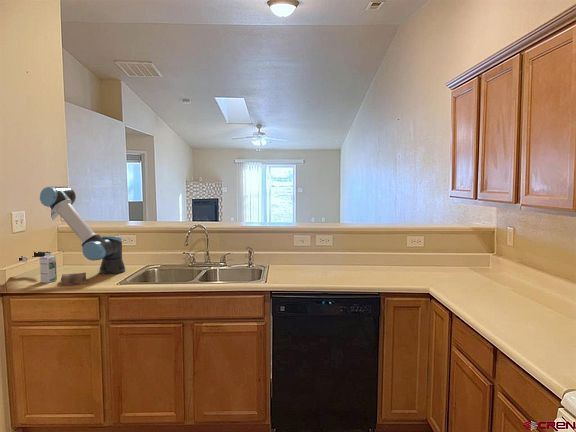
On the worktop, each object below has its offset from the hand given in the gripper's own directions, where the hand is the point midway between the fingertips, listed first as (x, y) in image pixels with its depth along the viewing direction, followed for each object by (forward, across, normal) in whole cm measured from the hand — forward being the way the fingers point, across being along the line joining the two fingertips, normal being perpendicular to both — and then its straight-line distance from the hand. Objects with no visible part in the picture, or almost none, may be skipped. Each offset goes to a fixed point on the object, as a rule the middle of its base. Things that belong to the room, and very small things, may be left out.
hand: (38, 258), depth 225 cm
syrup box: (+10, 0, -12) cm, 16 cm away
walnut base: (+25, -7, -12) cm, 28 cm away
